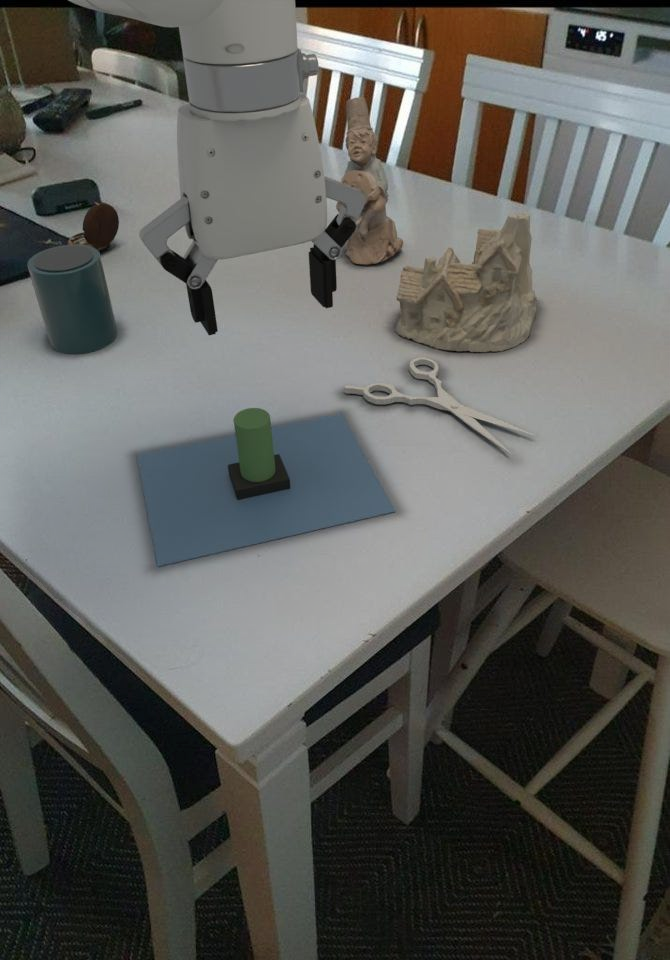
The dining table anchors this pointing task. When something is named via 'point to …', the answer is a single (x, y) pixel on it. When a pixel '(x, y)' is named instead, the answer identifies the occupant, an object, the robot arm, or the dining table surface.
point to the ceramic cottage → (473, 294)
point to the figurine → (367, 190)
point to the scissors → (431, 399)
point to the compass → (97, 227)
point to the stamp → (256, 457)
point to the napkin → (239, 523)
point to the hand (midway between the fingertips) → (266, 313)
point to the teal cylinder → (73, 298)
